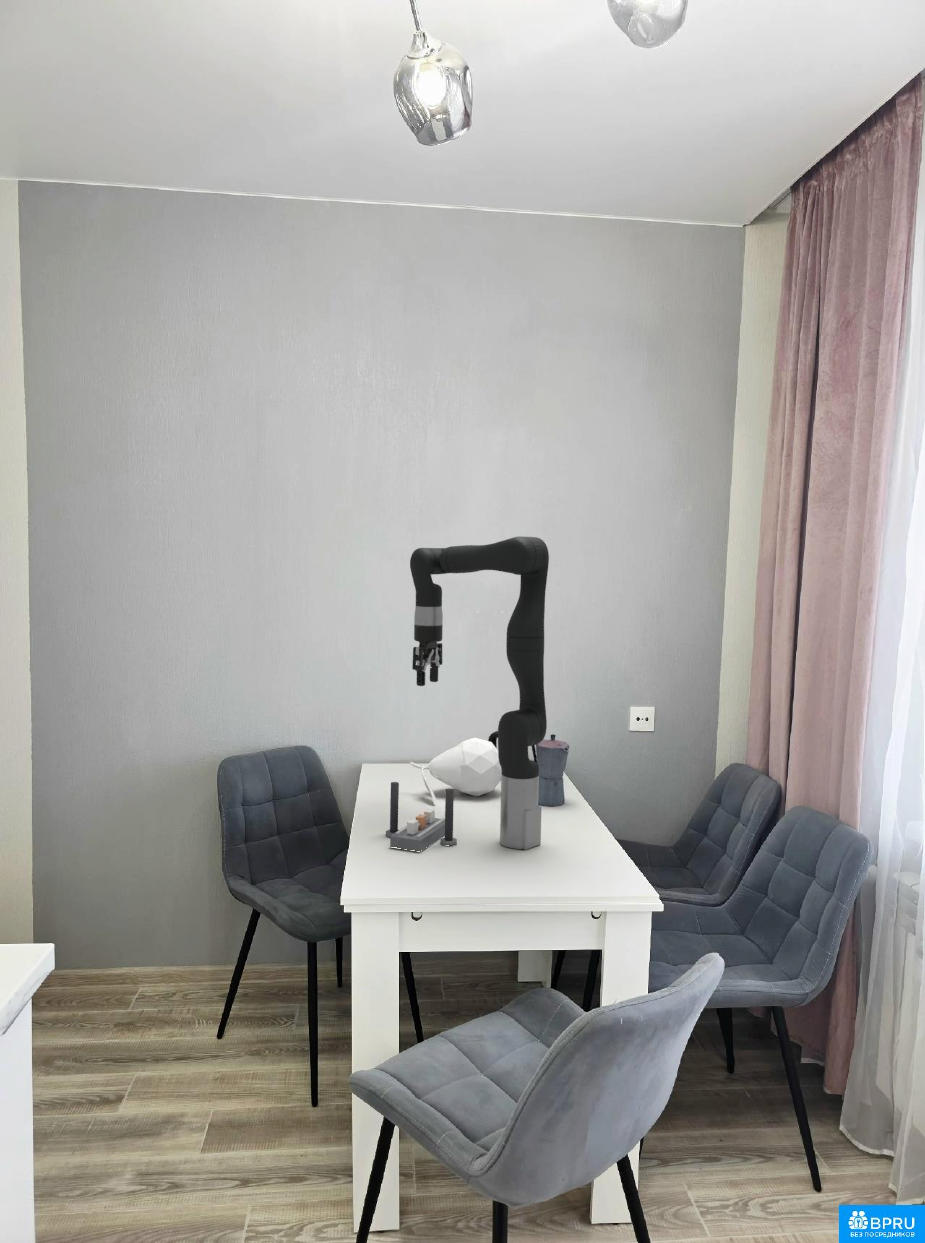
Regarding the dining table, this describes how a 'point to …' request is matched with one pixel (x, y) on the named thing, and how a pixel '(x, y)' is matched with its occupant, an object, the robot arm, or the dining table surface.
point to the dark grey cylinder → (449, 819)
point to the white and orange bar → (420, 821)
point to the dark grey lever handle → (393, 809)
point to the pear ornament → (466, 768)
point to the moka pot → (551, 770)
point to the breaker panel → (419, 836)
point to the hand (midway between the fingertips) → (427, 683)
